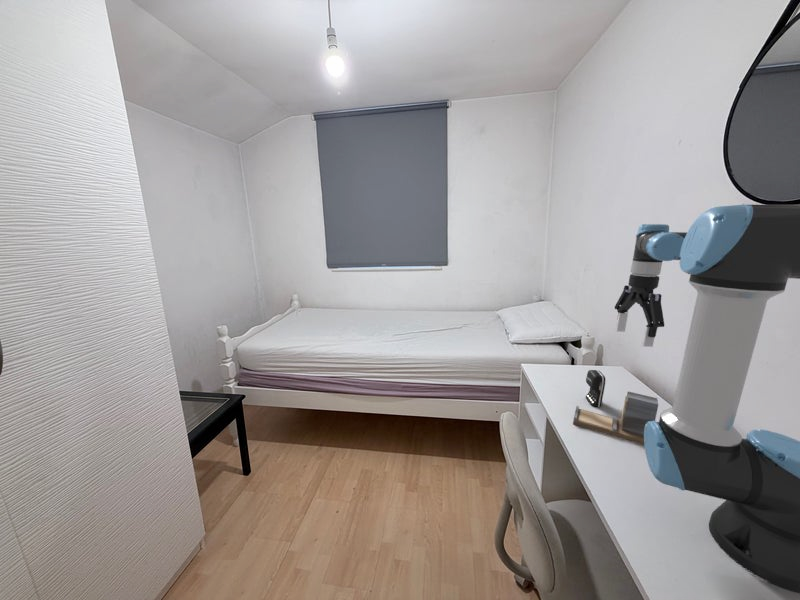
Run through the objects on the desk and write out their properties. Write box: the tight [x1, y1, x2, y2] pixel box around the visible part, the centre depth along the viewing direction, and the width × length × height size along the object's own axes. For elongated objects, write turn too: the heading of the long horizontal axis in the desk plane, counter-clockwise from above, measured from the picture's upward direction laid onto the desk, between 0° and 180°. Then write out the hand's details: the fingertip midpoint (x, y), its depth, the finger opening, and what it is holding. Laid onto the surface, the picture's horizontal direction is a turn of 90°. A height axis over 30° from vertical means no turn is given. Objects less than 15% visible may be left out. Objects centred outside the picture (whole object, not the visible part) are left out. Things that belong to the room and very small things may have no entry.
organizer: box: [572, 391, 659, 446], centre depth 98 cm, size 8×21×12 cm, turn 57°
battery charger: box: [585, 369, 606, 408], centre depth 113 cm, size 7×4×11 cm, turn 170°
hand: (632, 338), depth 106 cm, fingers open, 13 cm apart
